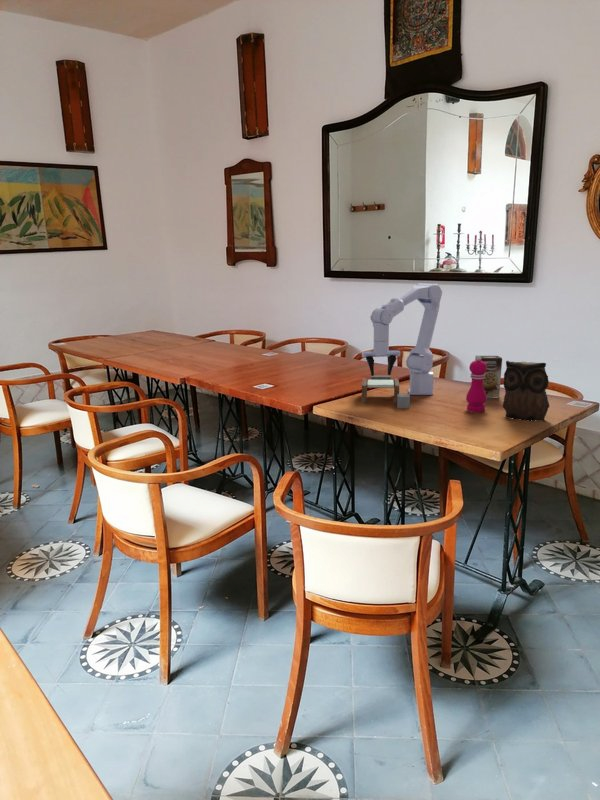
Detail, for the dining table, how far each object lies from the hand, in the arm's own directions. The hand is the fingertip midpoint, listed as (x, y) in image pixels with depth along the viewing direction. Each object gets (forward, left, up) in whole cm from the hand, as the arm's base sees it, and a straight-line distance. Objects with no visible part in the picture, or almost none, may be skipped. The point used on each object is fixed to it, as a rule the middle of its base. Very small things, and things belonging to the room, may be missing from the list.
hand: (380, 375), depth 222 cm
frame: (0, -3, -10) cm, 11 cm away
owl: (-51, +18, -11) cm, 55 cm away
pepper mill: (-35, +11, -11) cm, 38 cm away
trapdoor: (0, -4, -4) cm, 6 cm away
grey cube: (-9, +8, -10) cm, 15 cm away
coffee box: (-42, -9, -11) cm, 44 cm away
